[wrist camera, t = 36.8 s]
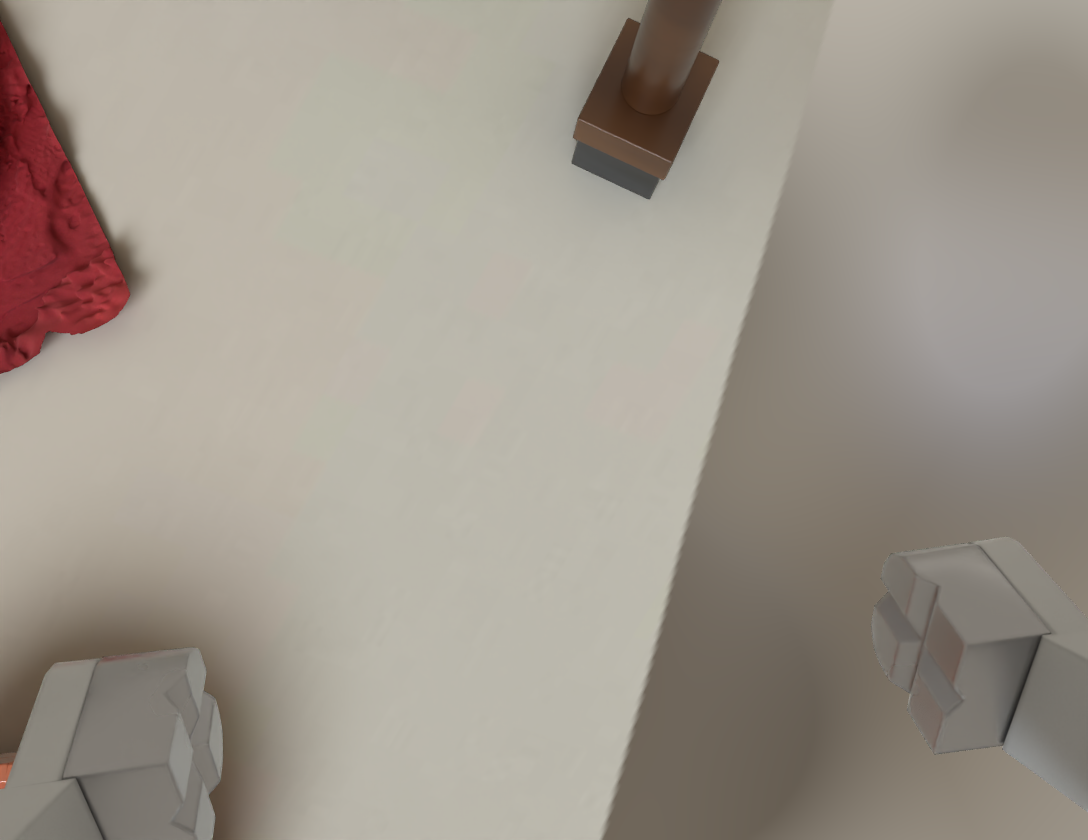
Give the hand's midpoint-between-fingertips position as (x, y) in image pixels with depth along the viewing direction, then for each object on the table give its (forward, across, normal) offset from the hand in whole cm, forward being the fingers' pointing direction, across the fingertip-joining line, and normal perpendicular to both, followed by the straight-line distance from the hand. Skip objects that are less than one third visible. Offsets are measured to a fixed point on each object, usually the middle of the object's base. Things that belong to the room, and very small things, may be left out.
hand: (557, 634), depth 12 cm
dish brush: (+34, -9, +5) cm, 35 cm away
